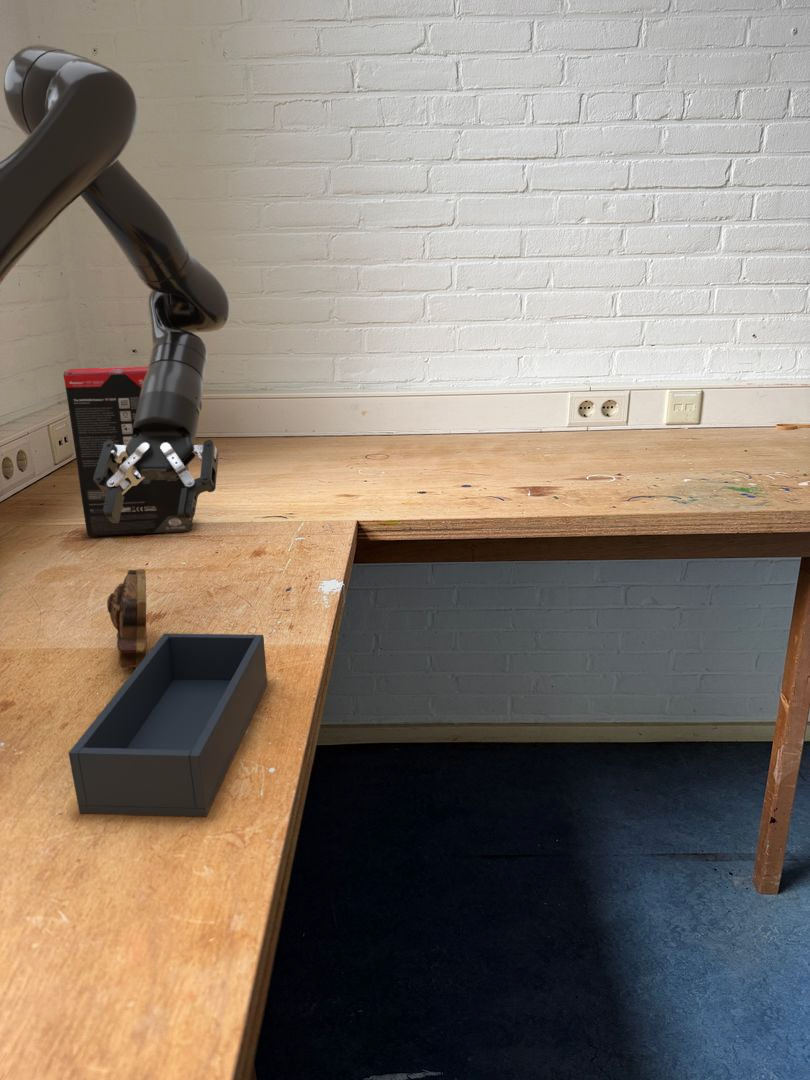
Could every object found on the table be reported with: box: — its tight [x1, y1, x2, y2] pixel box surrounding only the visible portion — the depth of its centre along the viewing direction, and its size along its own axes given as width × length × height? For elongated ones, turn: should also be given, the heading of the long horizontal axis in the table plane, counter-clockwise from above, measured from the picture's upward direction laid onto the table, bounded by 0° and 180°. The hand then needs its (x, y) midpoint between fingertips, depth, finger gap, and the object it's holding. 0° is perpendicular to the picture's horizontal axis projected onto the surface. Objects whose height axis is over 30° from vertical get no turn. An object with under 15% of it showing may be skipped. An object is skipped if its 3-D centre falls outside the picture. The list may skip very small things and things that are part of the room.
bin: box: [68, 633, 268, 818], centre depth 74 cm, size 11×22×6 cm, turn 176°
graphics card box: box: [62, 366, 194, 537], centre depth 131 cm, size 17×7×27 cm, turn 100°
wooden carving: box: [106, 568, 148, 669], centre depth 89 cm, size 16×5×10 cm, turn 22°
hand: (147, 520), depth 94 cm, fingers open, 8 cm apart
